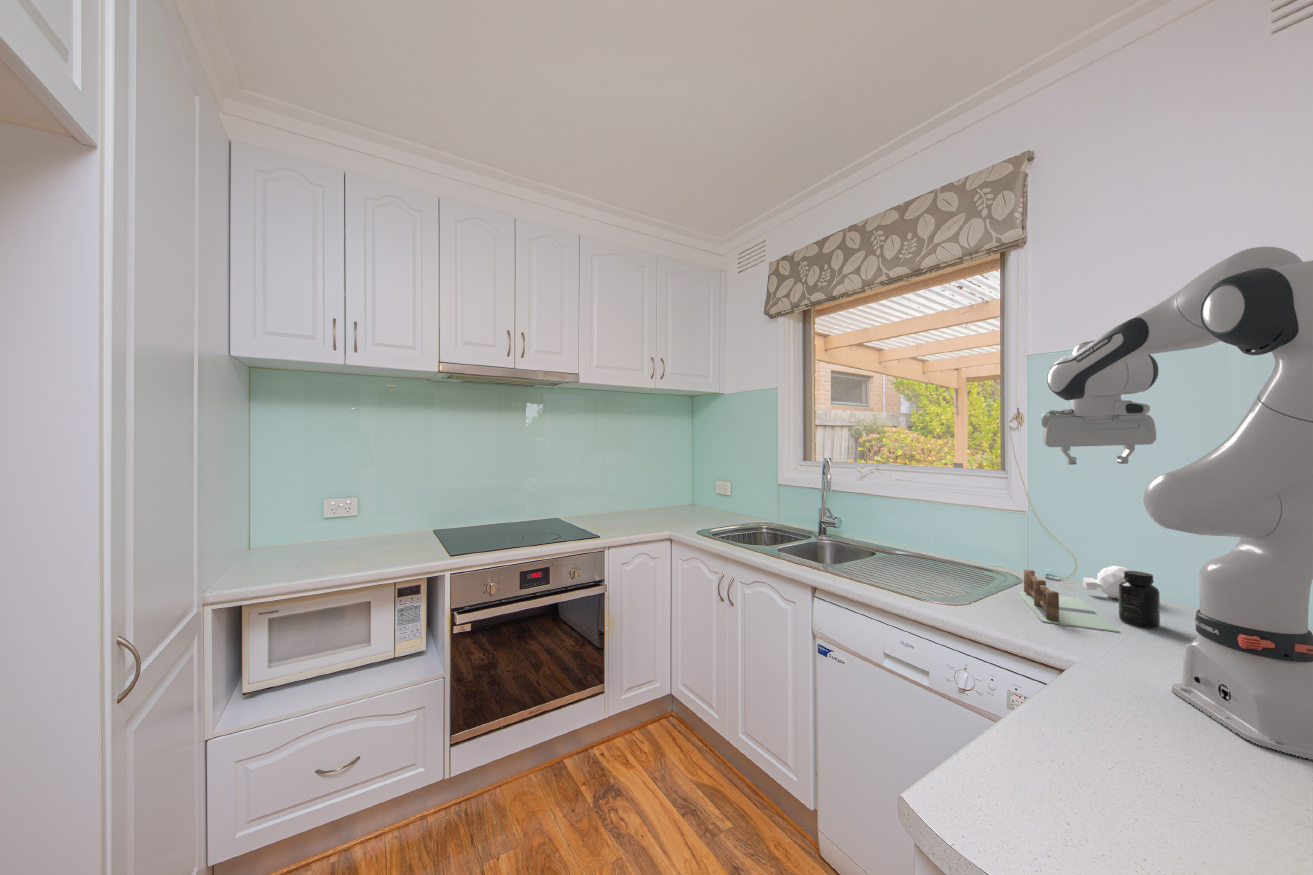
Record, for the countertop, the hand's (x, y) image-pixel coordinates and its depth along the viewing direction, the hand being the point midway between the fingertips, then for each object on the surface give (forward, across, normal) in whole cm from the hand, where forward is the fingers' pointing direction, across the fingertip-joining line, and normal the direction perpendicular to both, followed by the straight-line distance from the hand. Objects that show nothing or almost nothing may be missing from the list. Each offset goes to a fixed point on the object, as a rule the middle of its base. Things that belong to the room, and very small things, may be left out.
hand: (1096, 463), depth 114 cm
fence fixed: (+37, -12, -6) cm, 40 cm away
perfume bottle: (+41, +7, +17) cm, 45 cm away
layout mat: (+38, -8, -1) cm, 39 cm away
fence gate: (+38, -12, +6) cm, 40 cm away
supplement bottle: (+38, +6, -4) cm, 39 cm away
